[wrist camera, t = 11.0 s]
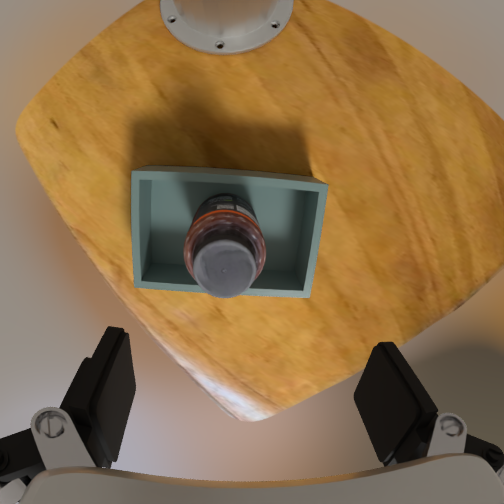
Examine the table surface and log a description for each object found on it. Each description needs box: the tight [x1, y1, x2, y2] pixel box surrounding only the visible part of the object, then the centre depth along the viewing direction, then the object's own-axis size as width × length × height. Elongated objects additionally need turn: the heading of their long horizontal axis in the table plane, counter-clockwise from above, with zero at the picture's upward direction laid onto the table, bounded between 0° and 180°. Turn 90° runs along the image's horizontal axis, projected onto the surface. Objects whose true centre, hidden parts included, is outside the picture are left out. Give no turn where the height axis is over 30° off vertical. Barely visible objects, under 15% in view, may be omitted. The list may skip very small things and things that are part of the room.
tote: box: [131, 165, 328, 298], centre depth 28 cm, size 10×16×5 cm, turn 85°
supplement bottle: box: [183, 193, 266, 298], centre depth 25 cm, size 6×6×11 cm
